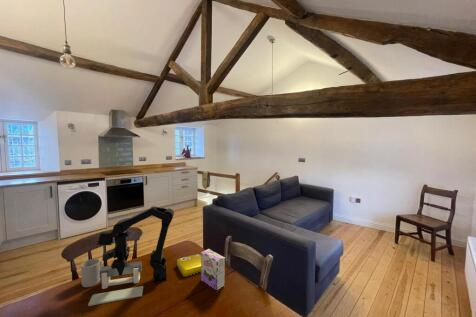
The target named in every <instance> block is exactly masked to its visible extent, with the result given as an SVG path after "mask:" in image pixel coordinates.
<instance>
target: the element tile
mask: <svg viewBox="0 0 476 317" xmlns="http://www.w3.org/2000/svg"><path fill="white" fill-rule="evenodd" d="M176 262H177V264H176V265H177V266H176V267H177V268H178V270H179V272H180V274H181V275H182V276H183V277H185V278H186V277H190V276H193V275H196V274H195V273H197V274H199V273H198V272H200V273H201V253H200V254H199V253H196V254H192V255H188V256H183V257H180V258H177V260H176ZM192 274H193V275H192ZM189 275H190V276H189Z"/></svg>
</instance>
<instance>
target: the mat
mask: <svg viewBox="0 0 476 317" xmlns="http://www.w3.org/2000/svg"><path fill="white" fill-rule="evenodd" d="M143 291H144V285H141V286H135V287H129V288H124V289H118V290H117V289H116V290H112V291H106V292H102V293H101V292H99V293H95V294H92V296H91V297H90V300H89V302H88V304H87V305H88V307H91V306H95V305H100V304H101V305H102V304H108V303H113V302H118V301H122V300H128V299H134V298H139V297H143V293H144V292H143Z"/></svg>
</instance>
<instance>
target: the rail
mask: <svg viewBox="0 0 476 317" xmlns="http://www.w3.org/2000/svg"><path fill="white" fill-rule="evenodd" d="M134 268H138V271H139V272H140V273H142V270H143V261H141V260H140V261H134V262H133V261H132V262H126V265H125V268H124V270H123V273H122V275H121V276H124V275H130V274H131V275H132V274H133V269H134ZM99 272H100V279H102V273H106V272H107V277H110V278H112V277H117V276H119V273H118V271H117V268H115V269H111V265H107V266H102V267H101V269H100V271H99Z"/></svg>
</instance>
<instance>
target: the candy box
mask: <svg viewBox="0 0 476 317" xmlns="http://www.w3.org/2000/svg"><path fill="white" fill-rule="evenodd" d="M200 255H201V272H200V280H201V282H203V283H204V282H205V283H204V284H206V285H207V284H208V285H209V286H208V285H207V286H208V287H210V286H211V287H212V288H211V287H210V288H211V289H213V288H214V289H215V290H218V289H220V288H221V287H223V286H224V287H225V279H226V278H225V277H226V276H225V275H226V274H225V273H226V272H225V270H226V269H225V267H226V257H225V256H223V255H221V254H219V253H217V252H215V251H213V250H212V249H210V248H208V249H207V248H206V250H203V251H201V252H200ZM214 289H213V290H214ZM215 290H214V291H215ZM220 290H221V289H220ZM218 291H219V290H218Z"/></svg>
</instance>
